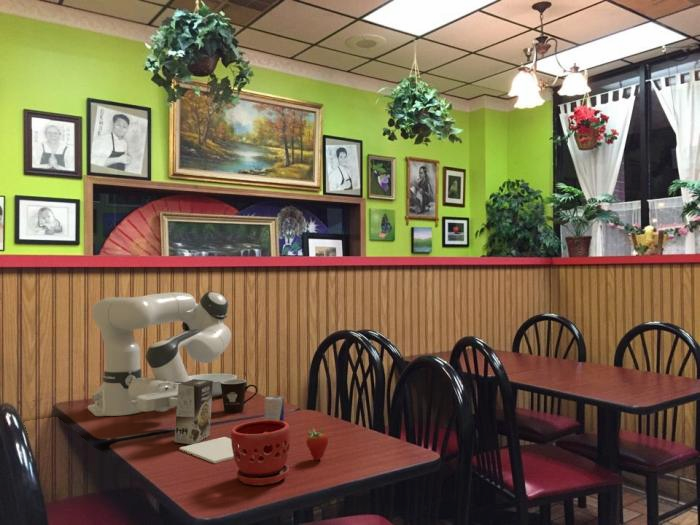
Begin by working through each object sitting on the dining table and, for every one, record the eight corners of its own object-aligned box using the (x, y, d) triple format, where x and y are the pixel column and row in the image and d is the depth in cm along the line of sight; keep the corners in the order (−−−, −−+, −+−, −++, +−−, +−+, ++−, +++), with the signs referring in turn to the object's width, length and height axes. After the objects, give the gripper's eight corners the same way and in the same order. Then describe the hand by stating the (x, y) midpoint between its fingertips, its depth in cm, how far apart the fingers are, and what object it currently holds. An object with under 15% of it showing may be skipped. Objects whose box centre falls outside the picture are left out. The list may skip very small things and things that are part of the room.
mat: (179, 449, 159) (179, 447, 159) (224, 438, 169) (224, 436, 169) (214, 463, 147) (214, 461, 147) (261, 450, 157) (261, 448, 157)
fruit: (304, 457, 150) (304, 425, 150) (325, 455, 152) (325, 423, 152) (309, 463, 145) (308, 430, 146) (330, 461, 147) (330, 428, 147)
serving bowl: (247, 391, 236) (247, 374, 237) (214, 402, 217) (214, 383, 217) (204, 388, 245) (204, 371, 245) (169, 398, 226) (169, 380, 226)
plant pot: (267, 466, 144) (267, 416, 145) (302, 478, 135) (301, 425, 135) (220, 479, 135) (219, 426, 136) (253, 494, 126) (252, 436, 126)
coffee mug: (215, 413, 200) (215, 383, 201) (230, 407, 208) (229, 378, 209) (245, 415, 196) (245, 385, 196) (259, 409, 204) (258, 380, 204)
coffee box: (194, 445, 163) (198, 386, 163) (173, 442, 164) (177, 383, 164) (210, 436, 171) (213, 380, 171) (190, 433, 173) (193, 377, 173)
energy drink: (287, 439, 167) (287, 396, 167) (279, 444, 162) (278, 400, 162) (270, 437, 169) (269, 395, 169) (261, 443, 164) (260, 399, 164)
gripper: (127, 390, 173) (150, 397, 163) (190, 380, 188) (215, 385, 178) (128, 412, 173) (151, 420, 163) (191, 400, 188) (215, 407, 178)
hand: (185, 402), depth 171 cm, fingers closed
